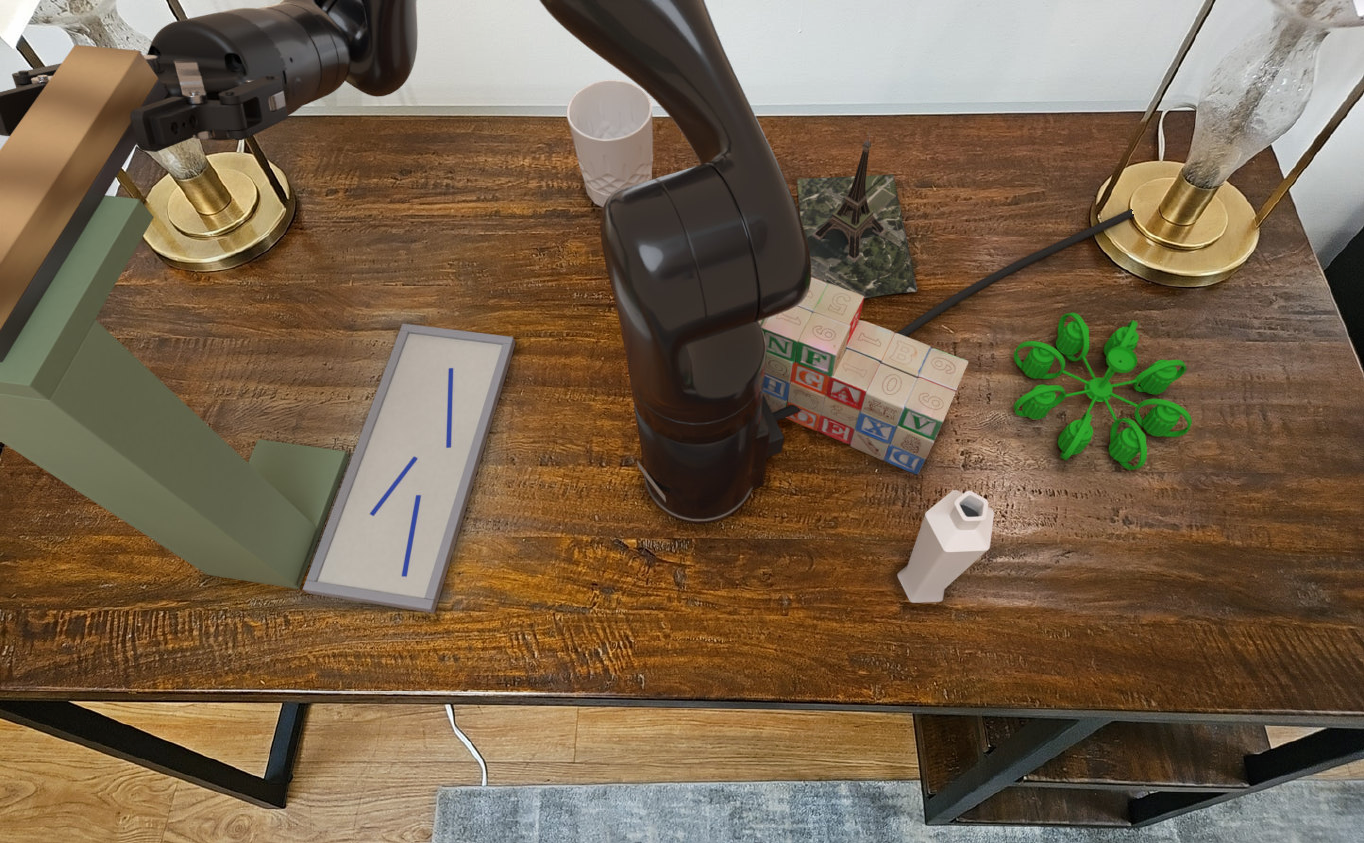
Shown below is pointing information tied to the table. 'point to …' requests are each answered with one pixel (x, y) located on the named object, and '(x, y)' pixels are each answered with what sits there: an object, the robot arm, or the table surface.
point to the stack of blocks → (858, 377)
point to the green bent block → (153, 430)
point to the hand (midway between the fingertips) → (67, 125)
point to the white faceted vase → (947, 545)
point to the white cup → (611, 136)
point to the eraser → (64, 169)
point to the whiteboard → (412, 470)
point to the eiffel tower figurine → (857, 232)
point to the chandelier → (1102, 390)
